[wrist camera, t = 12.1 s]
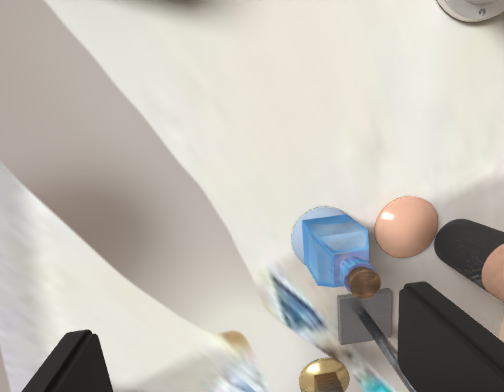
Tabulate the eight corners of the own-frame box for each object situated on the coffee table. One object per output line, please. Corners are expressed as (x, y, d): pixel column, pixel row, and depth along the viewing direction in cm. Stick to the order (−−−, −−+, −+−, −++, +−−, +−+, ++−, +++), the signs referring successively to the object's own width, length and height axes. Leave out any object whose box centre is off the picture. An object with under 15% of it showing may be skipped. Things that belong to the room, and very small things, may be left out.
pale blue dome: (288, 209, 40) (290, 211, 39) (351, 201, 41) (355, 203, 39) (292, 268, 42) (294, 272, 41) (352, 260, 43) (356, 264, 42)
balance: (281, 303, 44) (318, 423, 26) (441, 280, 45) (577, 379, 28) (284, 348, 45) (321, 487, 28) (438, 324, 47) (564, 442, 30)
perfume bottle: (304, 261, 41) (335, 316, 29) (301, 220, 39) (333, 260, 28) (347, 255, 41) (395, 307, 30) (346, 214, 40) (396, 251, 28)
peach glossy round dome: (372, 199, 41) (376, 201, 40) (433, 191, 41) (440, 193, 40) (372, 257, 43) (376, 261, 42) (430, 249, 44) (436, 253, 42)
